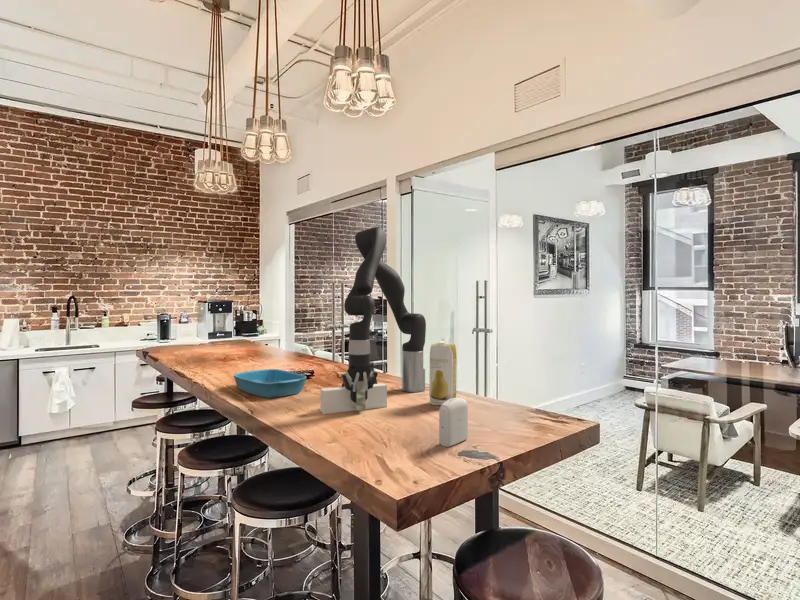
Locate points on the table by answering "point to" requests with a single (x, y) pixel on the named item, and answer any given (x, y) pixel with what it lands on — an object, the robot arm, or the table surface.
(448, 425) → the photo printer
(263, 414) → the table surface
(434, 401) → the juice carton
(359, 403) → the slotted plate
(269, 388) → the casserole dish
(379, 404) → the slotted beam
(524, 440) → the table surface
